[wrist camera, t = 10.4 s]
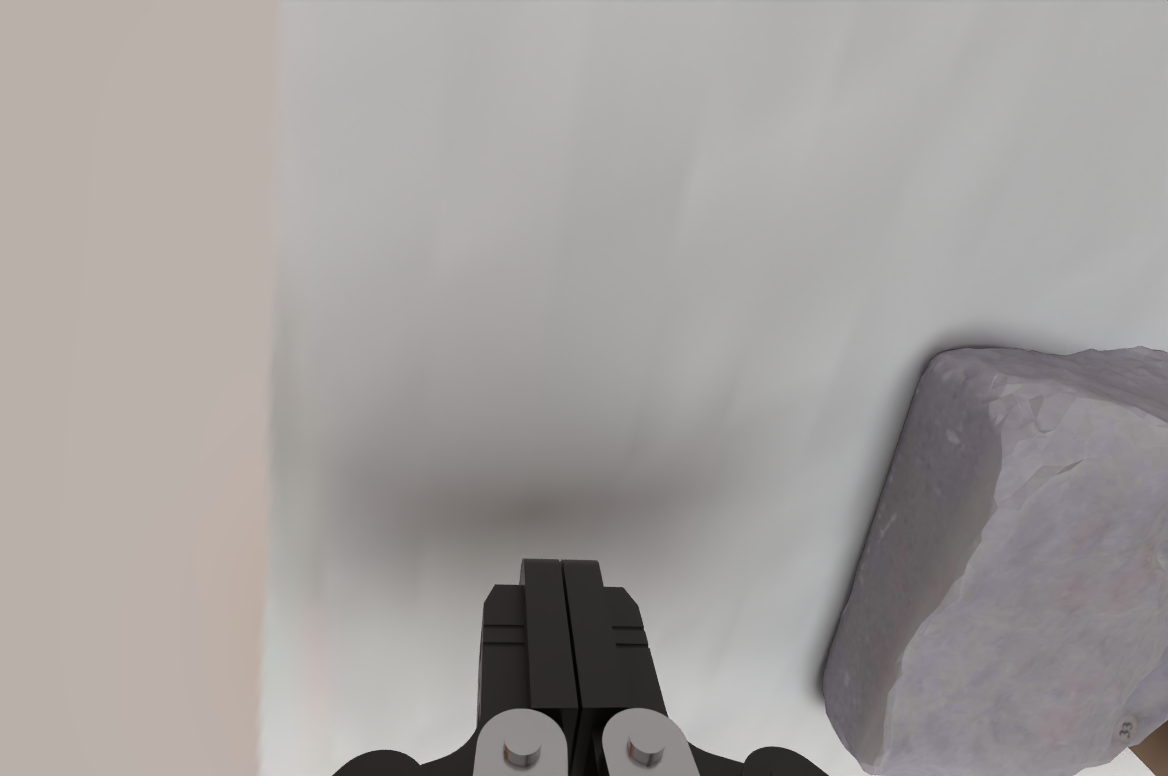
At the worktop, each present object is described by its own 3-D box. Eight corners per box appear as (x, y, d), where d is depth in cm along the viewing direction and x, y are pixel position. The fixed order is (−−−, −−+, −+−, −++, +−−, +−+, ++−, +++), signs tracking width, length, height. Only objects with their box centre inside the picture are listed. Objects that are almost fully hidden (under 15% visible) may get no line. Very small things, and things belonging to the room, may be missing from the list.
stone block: (1182, 325, 19) (899, 327, 16) (1415, 403, 15) (1098, 427, 12) (1020, 644, 24) (778, 696, 21) (1161, 767, 20) (889, 857, 16)
